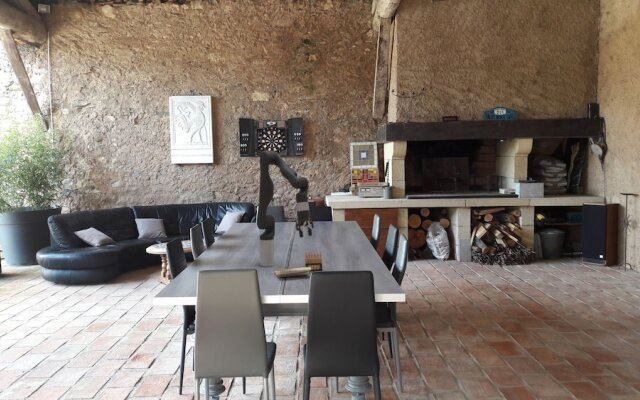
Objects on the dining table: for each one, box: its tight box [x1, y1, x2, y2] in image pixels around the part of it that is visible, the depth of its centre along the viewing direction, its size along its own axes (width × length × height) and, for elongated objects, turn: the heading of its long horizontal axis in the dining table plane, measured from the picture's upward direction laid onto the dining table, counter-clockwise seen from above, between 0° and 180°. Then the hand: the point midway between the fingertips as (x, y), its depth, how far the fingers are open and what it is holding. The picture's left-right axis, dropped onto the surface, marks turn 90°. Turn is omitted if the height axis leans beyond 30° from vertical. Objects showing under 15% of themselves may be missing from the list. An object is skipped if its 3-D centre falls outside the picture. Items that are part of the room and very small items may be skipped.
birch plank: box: [277, 266, 311, 278], centre depth 295 cm, size 10×18×2 cm, turn 108°
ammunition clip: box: [304, 251, 323, 272], centre depth 312 cm, size 11×2×12 cm, turn 93°
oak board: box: [273, 270, 280, 278], centre depth 304 cm, size 9×18×2 cm, turn 108°
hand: (306, 236), depth 304 cm, fingers open, 8 cm apart
